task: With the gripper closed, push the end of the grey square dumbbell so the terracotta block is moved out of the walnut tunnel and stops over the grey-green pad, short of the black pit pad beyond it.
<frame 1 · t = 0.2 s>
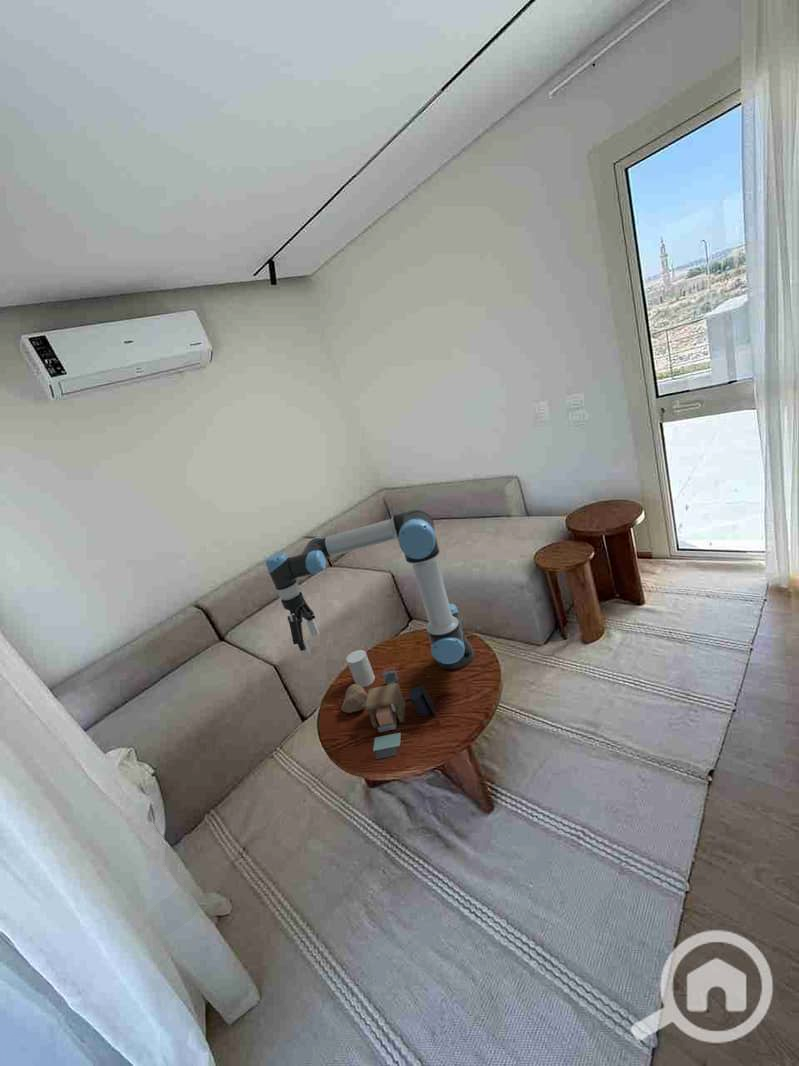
hand: (311, 645, 161), 28 cm above the table, fingers open, 13 cm apart
cup: (365, 680, 179), on the table
speaker: (425, 712, 151), on the table
grey square dumbbell: (388, 698, 159), point 3 cm above the table, slide at 0.0 cm, touching block
tunnel: (389, 715, 155), on the table
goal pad: (387, 742, 144), on the table
block: (387, 721, 151), point 2 cm above the table, touching grey square dumbbell
pit pad: (386, 753, 139), on the table
stone: (356, 706, 166), on the table
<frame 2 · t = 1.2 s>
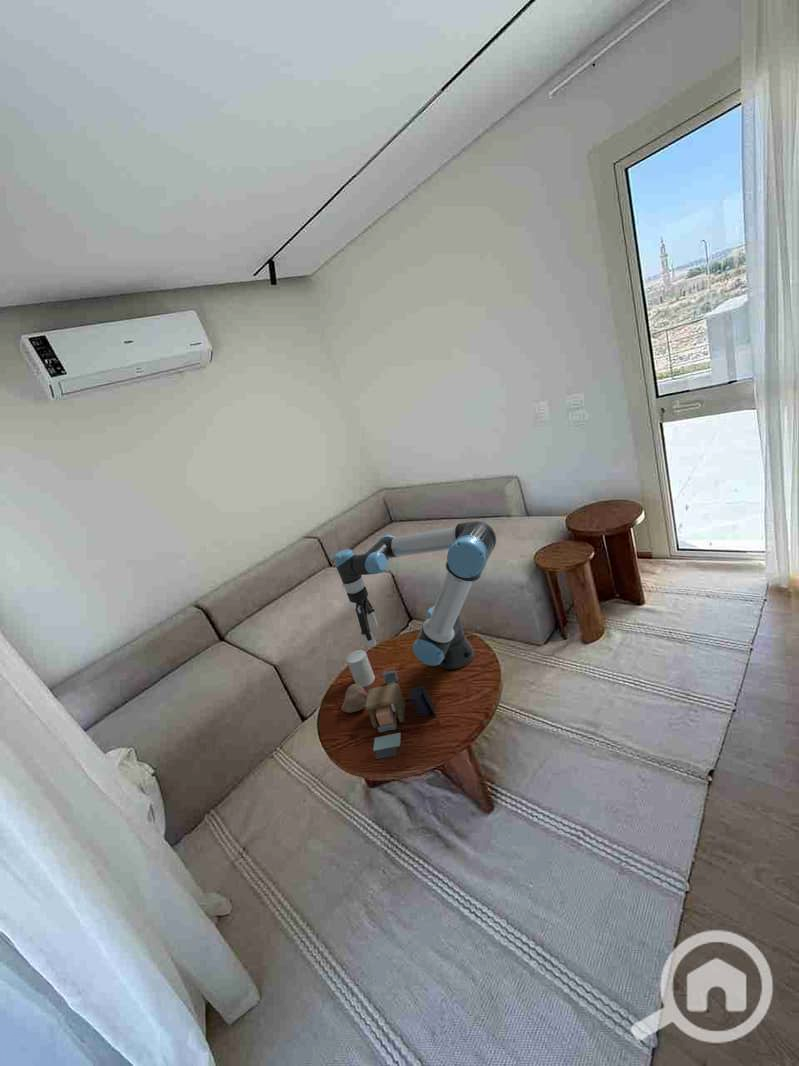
hand: (374, 636, 171), 19 cm above the table, fingers open, 13 cm apart
nothing on the table moved.
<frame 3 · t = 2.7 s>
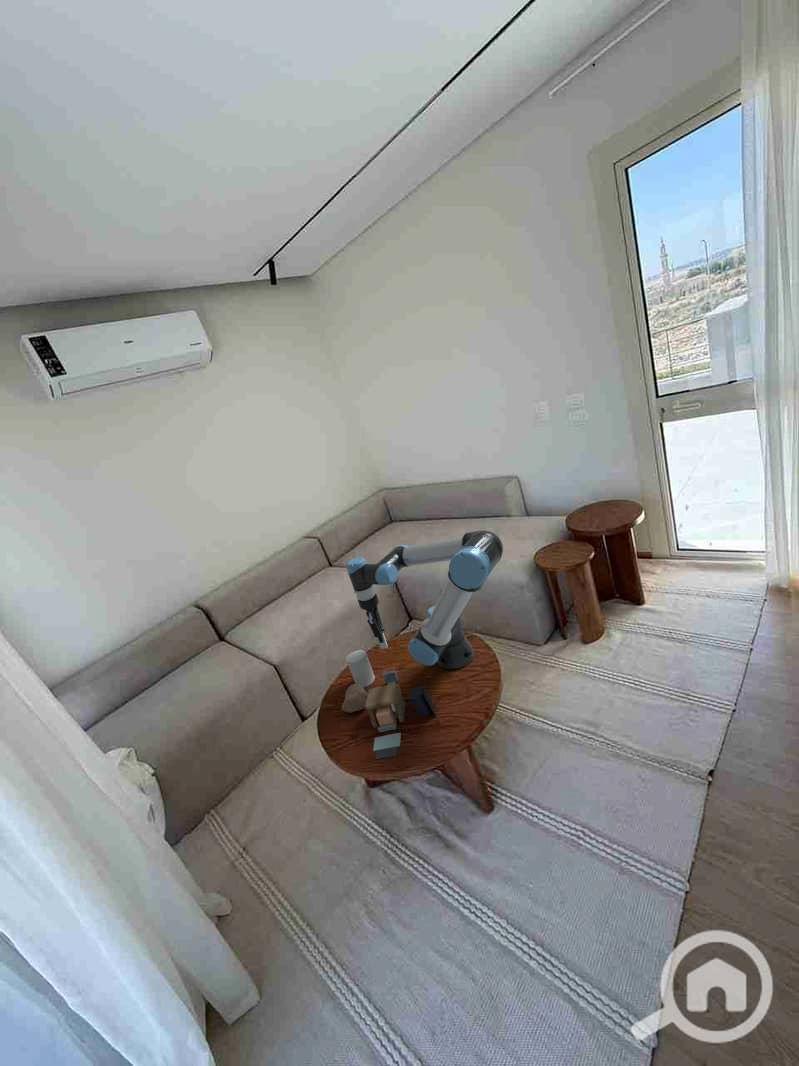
hand: (384, 647, 175), 12 cm above the table, fingers closed
nothing on the table moved.
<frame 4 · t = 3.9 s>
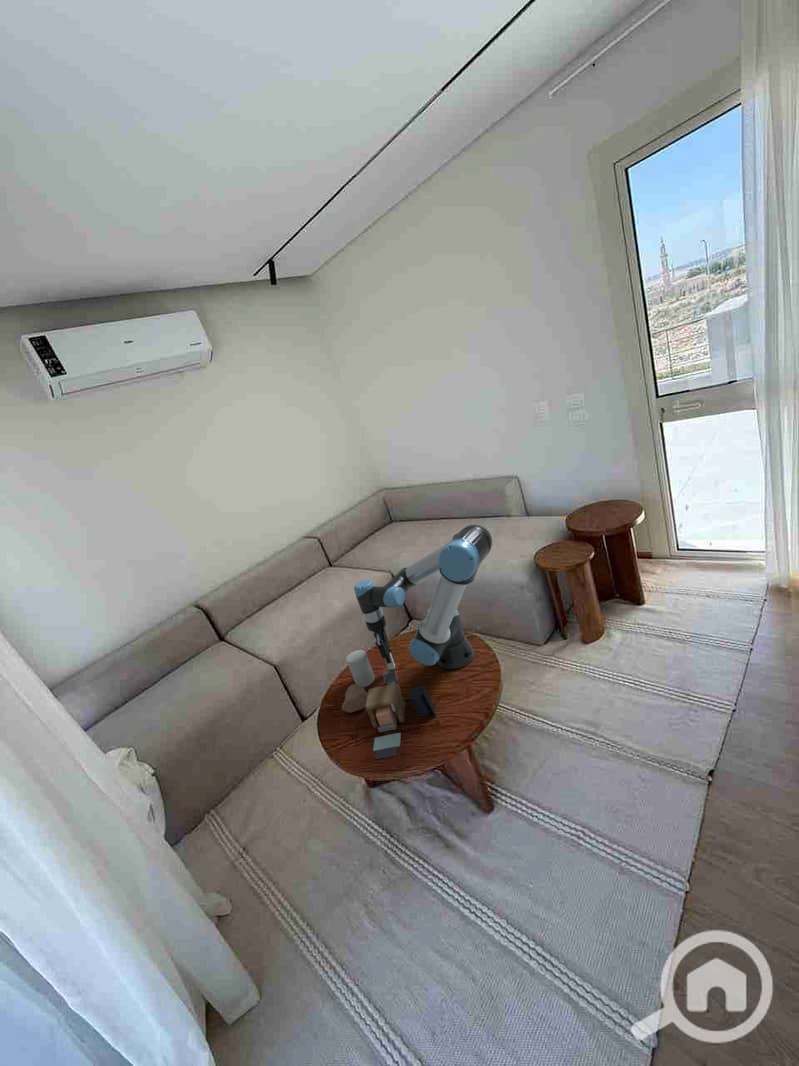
hand: (391, 667, 177), 2 cm above the table, fingers closed
nothing on the table moved.
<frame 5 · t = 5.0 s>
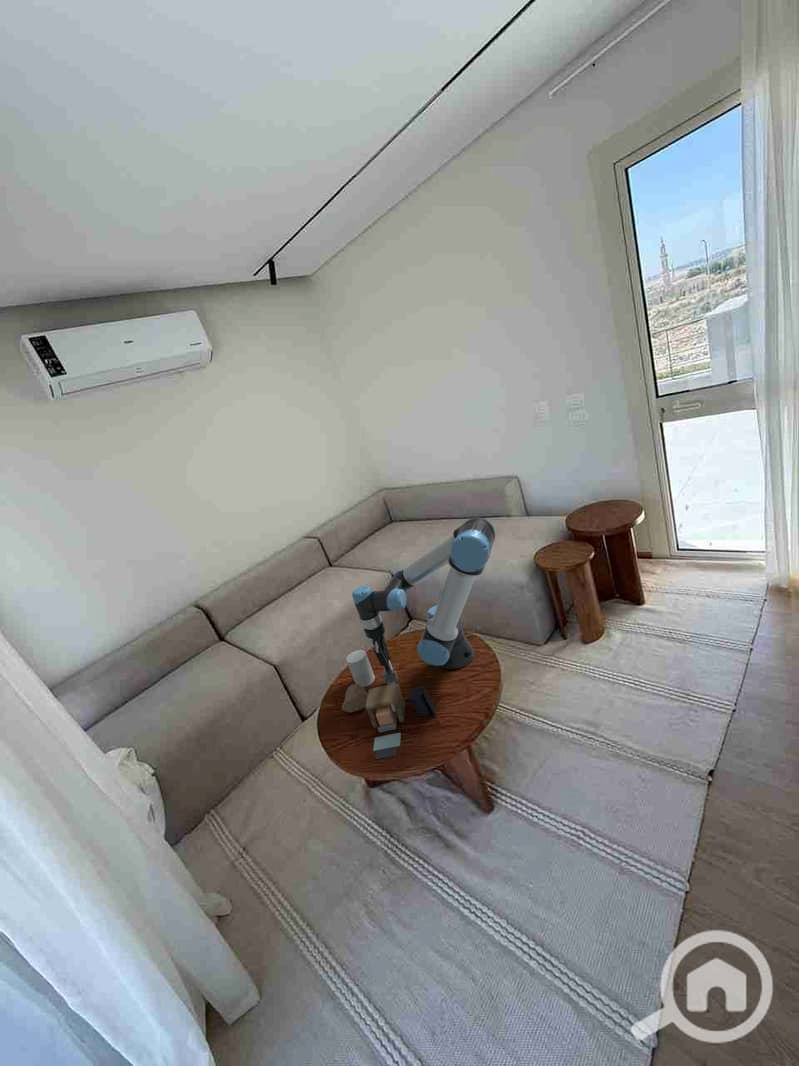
hand: (390, 675, 173), 2 cm above the table, fingers closed
grey square dumbbell: (388, 698, 159), point 3 cm above the table, slide at 0.1 cm, touching block, gripper
everything else where it was.
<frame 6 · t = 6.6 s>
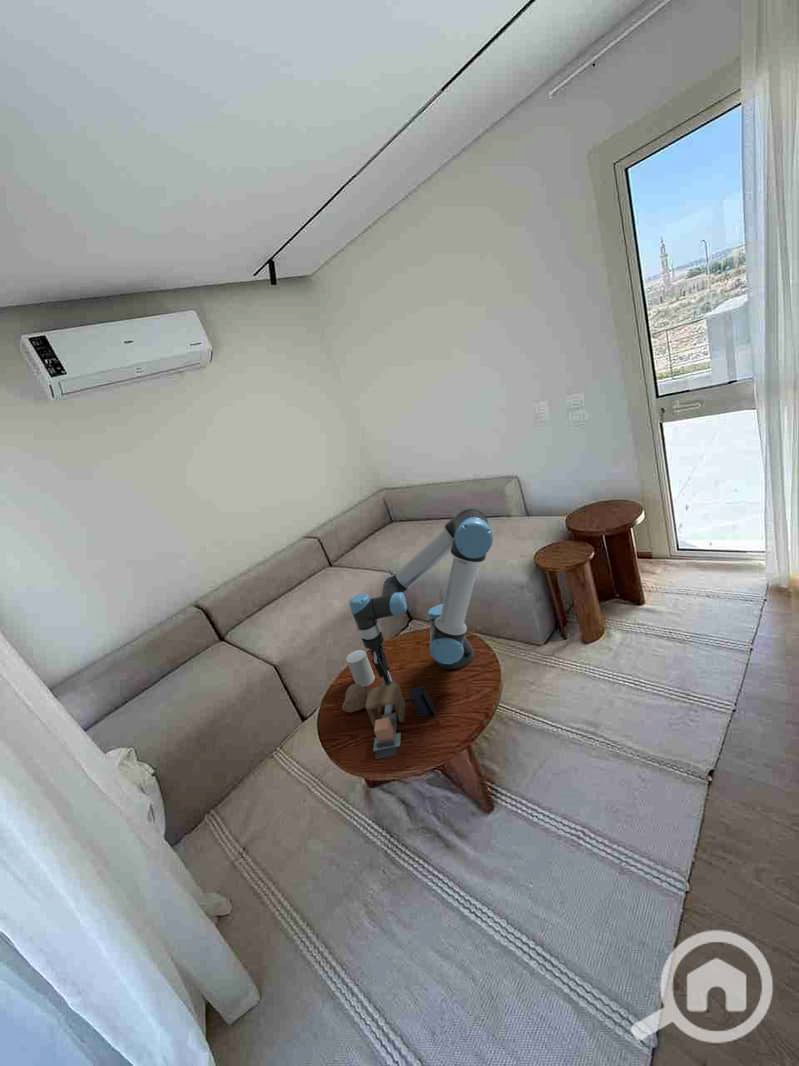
hand: (389, 686, 166), 2 cm above the table, fingers closed
grey square dumbbell: (387, 711, 153), point 3 cm above the table, slide at 6.7 cm, touching block, gripper
block: (386, 735, 144), point 2 cm above the table, touching grey square dumbbell
everything else where it was.
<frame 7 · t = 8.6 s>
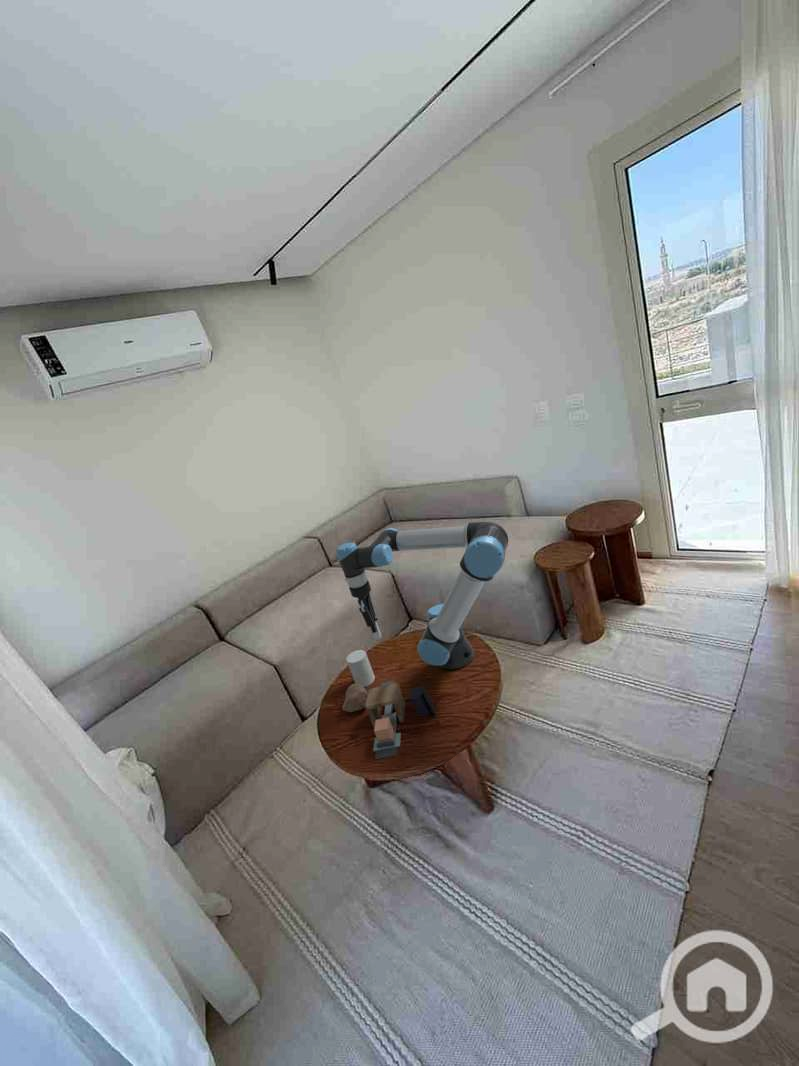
hand: (377, 637, 167), 20 cm above the table, fingers closed
grey square dumbbell: (387, 711, 153), point 3 cm above the table, slide at 6.7 cm, touching block
everything else where it was.
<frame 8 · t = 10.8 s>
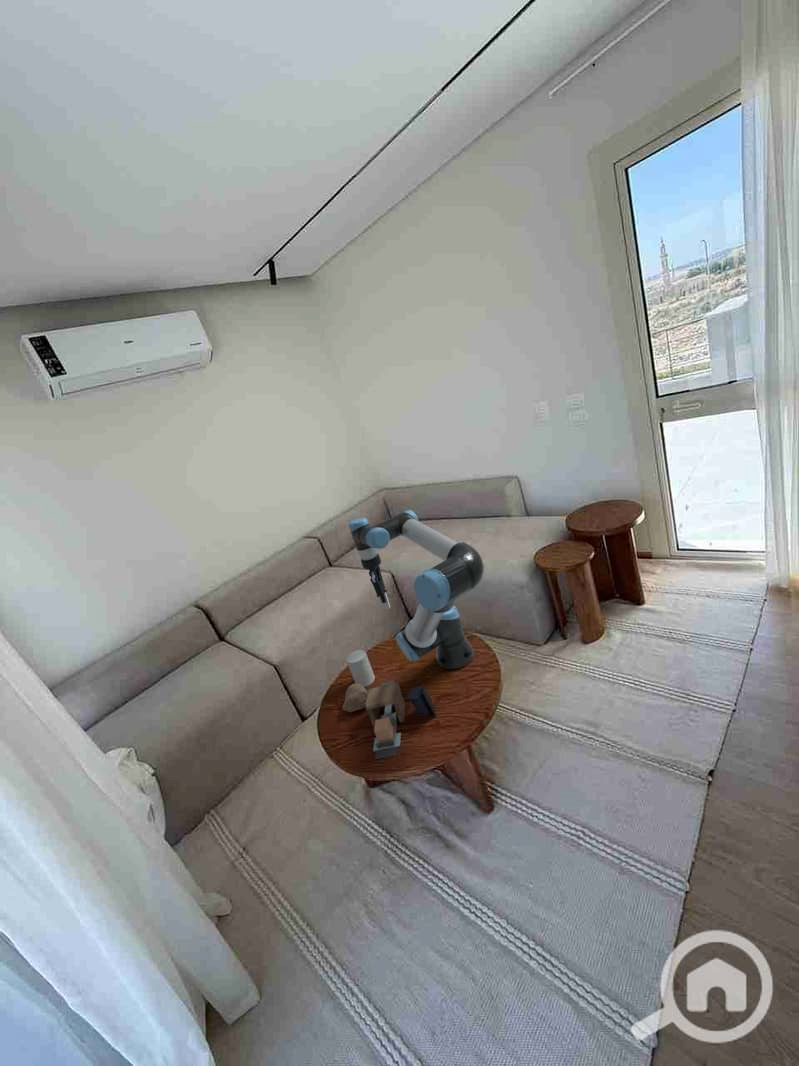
hand: (386, 608, 178), 24 cm above the table, fingers closed
nothing on the table moved.
at the end: block inside the target area (1.5 cm from its centre), point 1.6 cm above the table; grey square dumbbell slide at 6.7 cm; block tilted 0° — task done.
